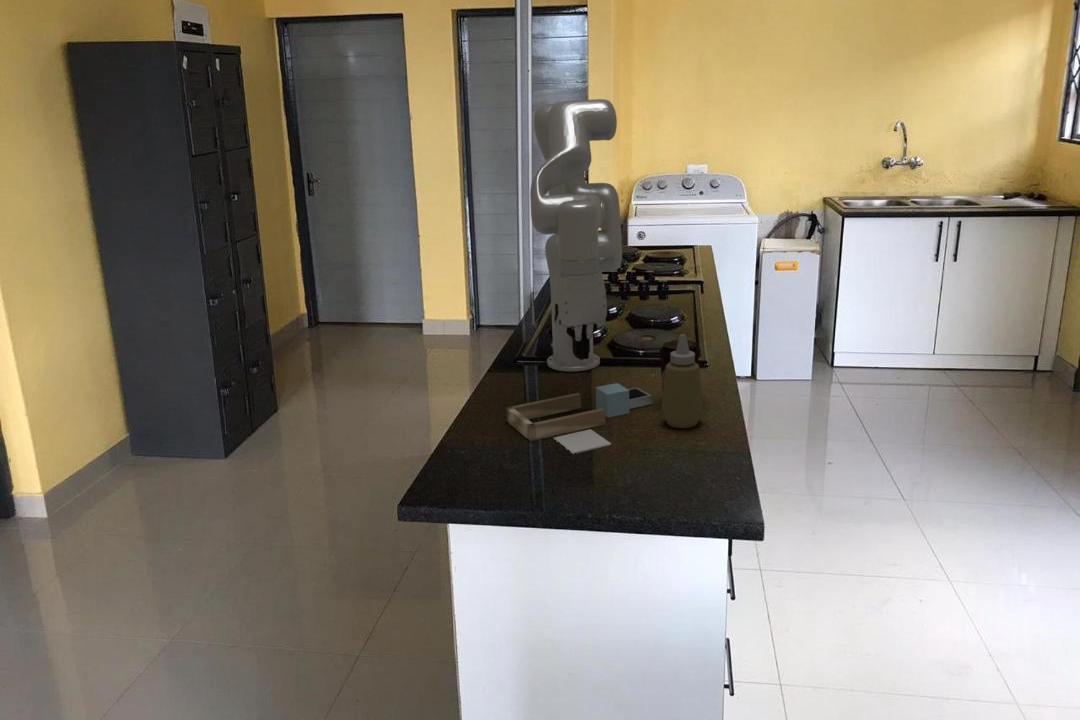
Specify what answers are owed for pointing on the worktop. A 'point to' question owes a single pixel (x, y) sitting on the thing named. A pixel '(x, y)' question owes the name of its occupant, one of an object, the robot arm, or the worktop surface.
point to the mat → (582, 441)
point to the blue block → (612, 399)
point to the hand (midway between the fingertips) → (581, 357)
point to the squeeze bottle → (682, 388)
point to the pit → (639, 398)
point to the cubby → (552, 427)
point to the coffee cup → (671, 347)
